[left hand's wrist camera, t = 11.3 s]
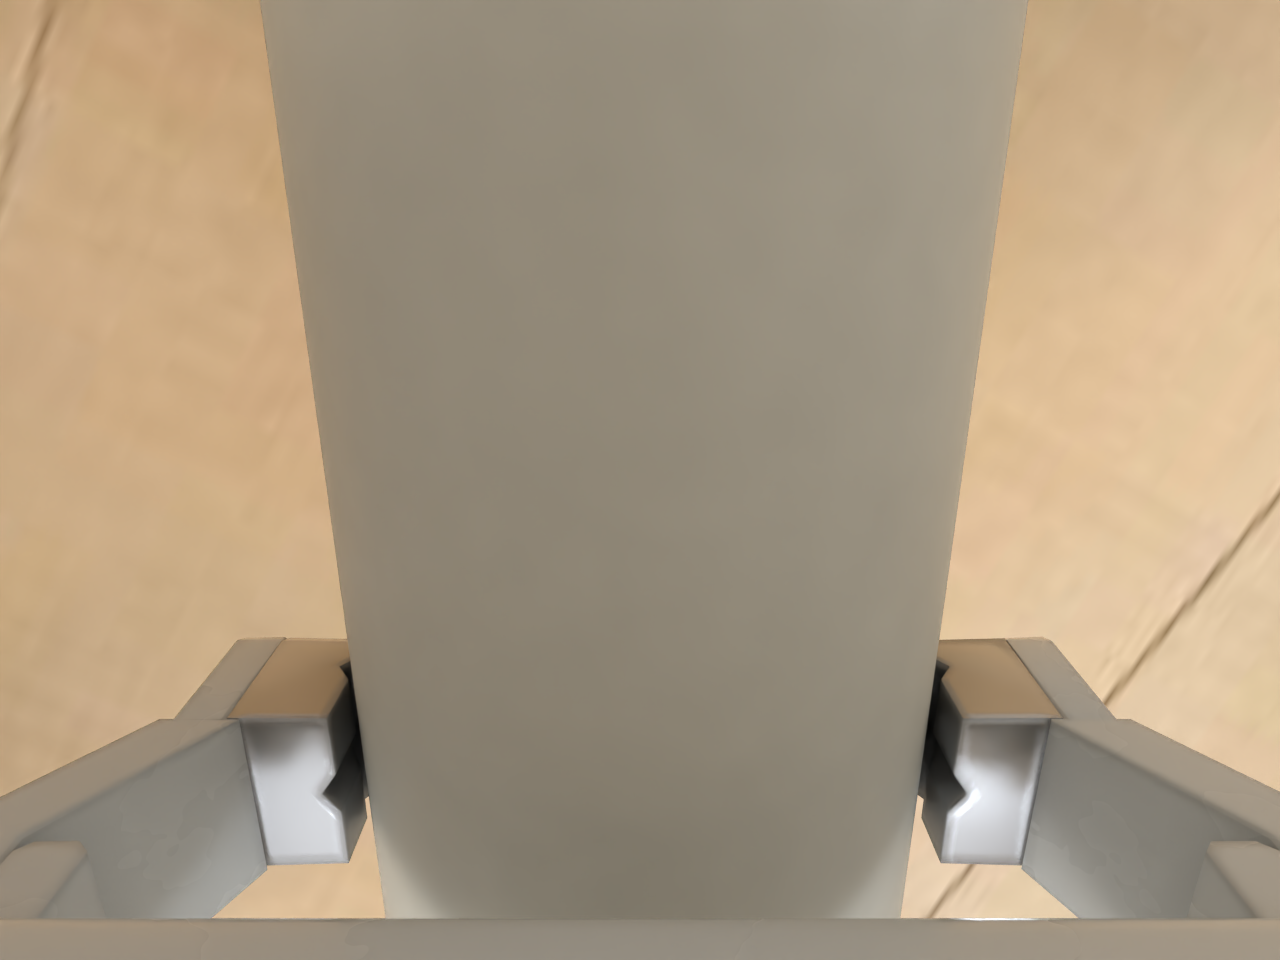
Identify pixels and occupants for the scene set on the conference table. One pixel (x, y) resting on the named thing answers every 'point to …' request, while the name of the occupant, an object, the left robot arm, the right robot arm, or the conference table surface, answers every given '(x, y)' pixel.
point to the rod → (643, 428)
